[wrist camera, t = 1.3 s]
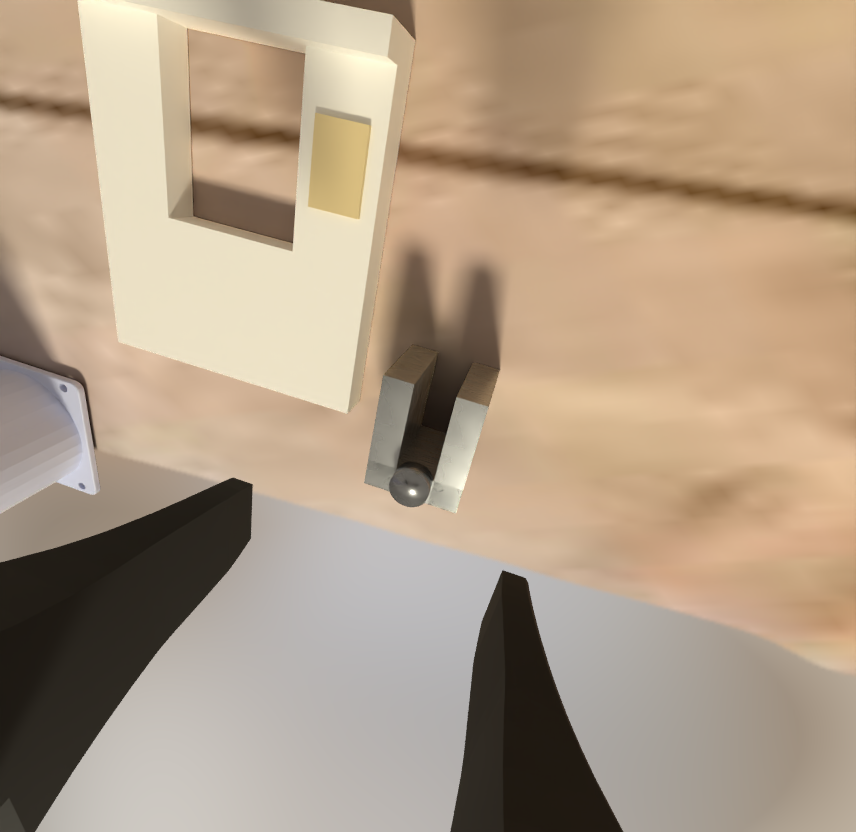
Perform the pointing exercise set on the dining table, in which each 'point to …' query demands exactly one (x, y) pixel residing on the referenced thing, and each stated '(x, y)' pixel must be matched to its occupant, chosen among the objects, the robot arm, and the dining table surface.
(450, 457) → the clip
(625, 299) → the dining table surface
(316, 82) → the frame
